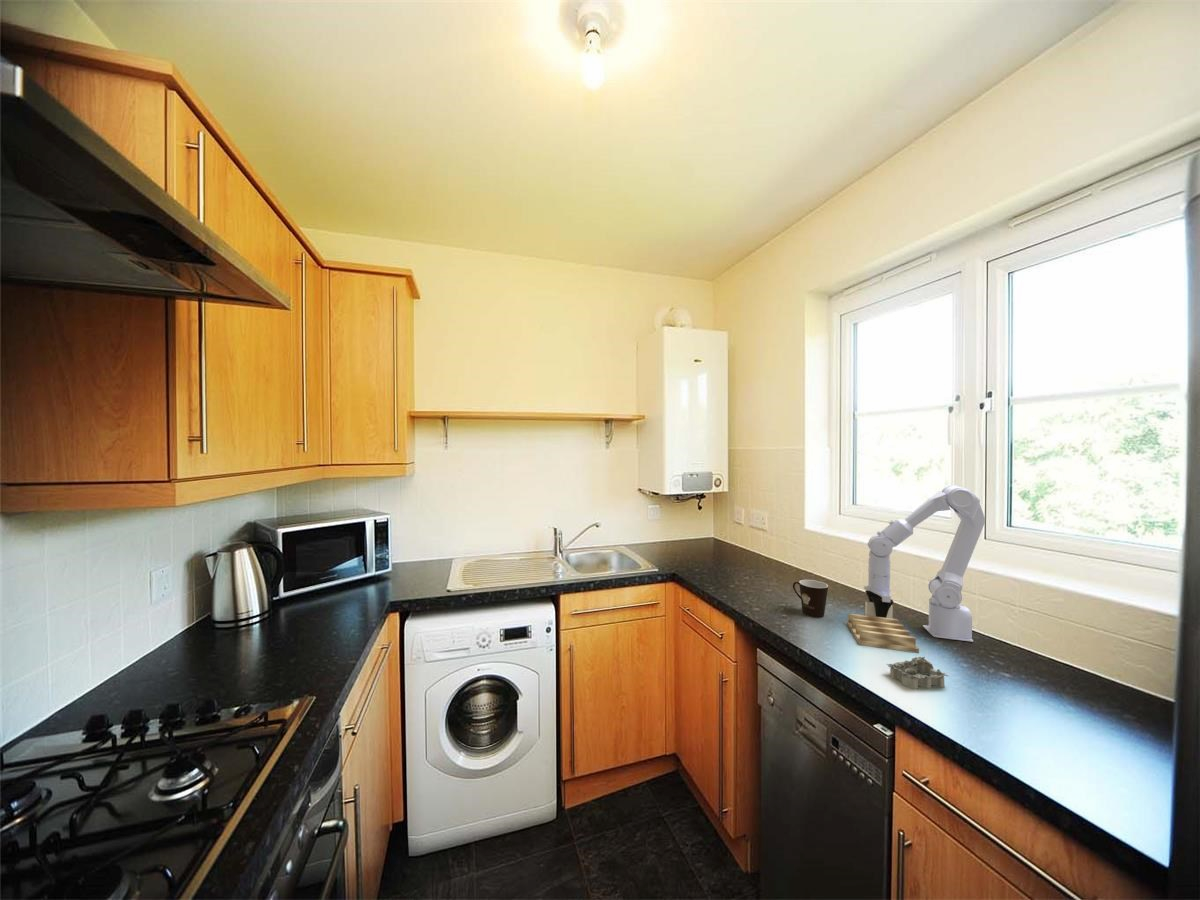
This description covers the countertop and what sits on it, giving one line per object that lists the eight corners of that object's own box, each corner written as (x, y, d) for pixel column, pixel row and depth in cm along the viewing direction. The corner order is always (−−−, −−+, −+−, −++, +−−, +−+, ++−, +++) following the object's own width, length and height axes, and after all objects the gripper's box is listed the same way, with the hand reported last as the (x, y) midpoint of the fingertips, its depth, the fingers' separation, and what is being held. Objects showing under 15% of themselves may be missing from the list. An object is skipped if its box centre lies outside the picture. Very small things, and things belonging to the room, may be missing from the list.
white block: (890, 623, 132) (890, 604, 132) (892, 625, 131) (892, 606, 131) (865, 620, 135) (865, 601, 135) (866, 622, 133) (866, 603, 133)
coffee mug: (833, 619, 135) (833, 588, 135) (806, 619, 135) (806, 587, 135) (815, 605, 146) (815, 577, 146) (790, 605, 146) (790, 576, 146)
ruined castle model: (925, 672, 103) (925, 655, 103) (952, 689, 96) (952, 671, 96) (883, 673, 103) (883, 656, 103) (907, 690, 95) (908, 672, 95)
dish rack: (898, 630, 127) (898, 618, 127) (918, 652, 113) (919, 639, 113) (846, 623, 132) (846, 612, 132) (859, 644, 117) (859, 632, 117)
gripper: (858, 567, 141) (857, 607, 141) (871, 579, 127) (870, 624, 127) (882, 569, 139) (882, 610, 139) (898, 582, 125) (898, 628, 125)
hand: (878, 617), depth 133 cm, fingers open, 4 cm apart
